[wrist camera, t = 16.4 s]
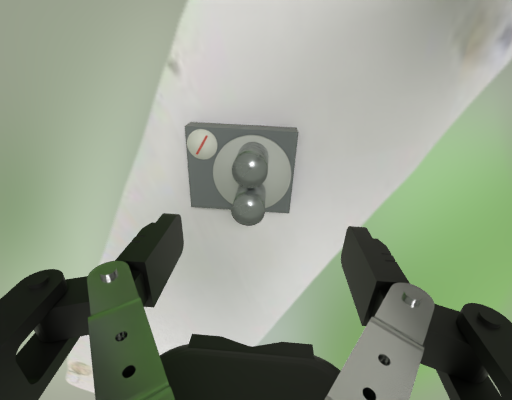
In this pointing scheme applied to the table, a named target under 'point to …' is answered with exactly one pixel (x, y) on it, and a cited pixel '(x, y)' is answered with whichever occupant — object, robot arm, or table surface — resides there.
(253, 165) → the cylinder
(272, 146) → the scale
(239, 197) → the cylinder
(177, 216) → the robot arm
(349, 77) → the table surface
